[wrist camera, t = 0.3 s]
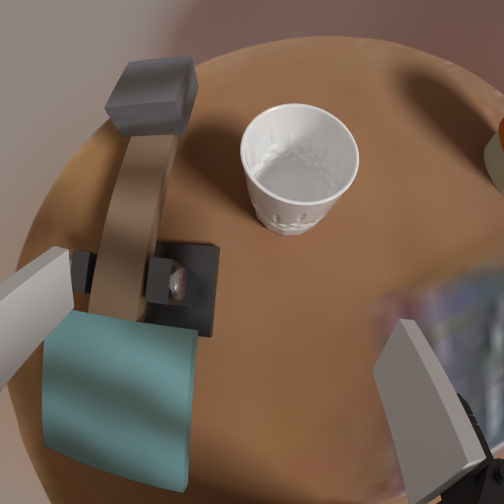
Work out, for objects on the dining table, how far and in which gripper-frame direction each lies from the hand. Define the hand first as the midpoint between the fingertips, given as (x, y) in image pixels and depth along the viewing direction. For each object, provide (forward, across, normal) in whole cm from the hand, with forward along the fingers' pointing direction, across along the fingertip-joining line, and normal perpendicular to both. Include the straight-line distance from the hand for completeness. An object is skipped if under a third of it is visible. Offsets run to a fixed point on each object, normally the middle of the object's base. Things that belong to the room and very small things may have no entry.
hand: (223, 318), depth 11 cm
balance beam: (+10, +8, +4) cm, 14 cm away
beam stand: (+14, +8, +9) cm, 18 cm away
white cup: (+20, -3, 0) cm, 20 cm away
